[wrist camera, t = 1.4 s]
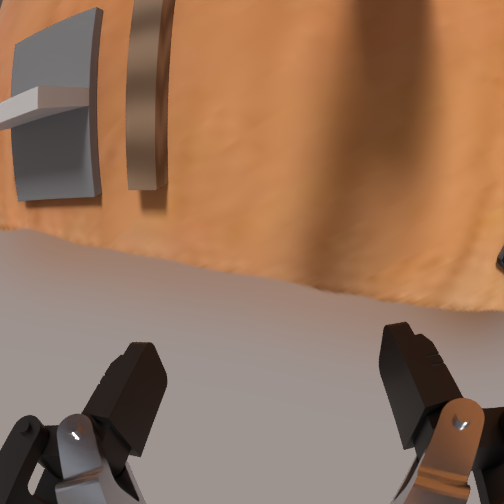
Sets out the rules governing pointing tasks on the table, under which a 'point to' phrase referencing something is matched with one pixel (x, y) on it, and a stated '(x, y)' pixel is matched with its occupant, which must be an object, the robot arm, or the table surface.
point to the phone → (501, 258)
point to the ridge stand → (56, 110)
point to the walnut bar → (148, 94)
